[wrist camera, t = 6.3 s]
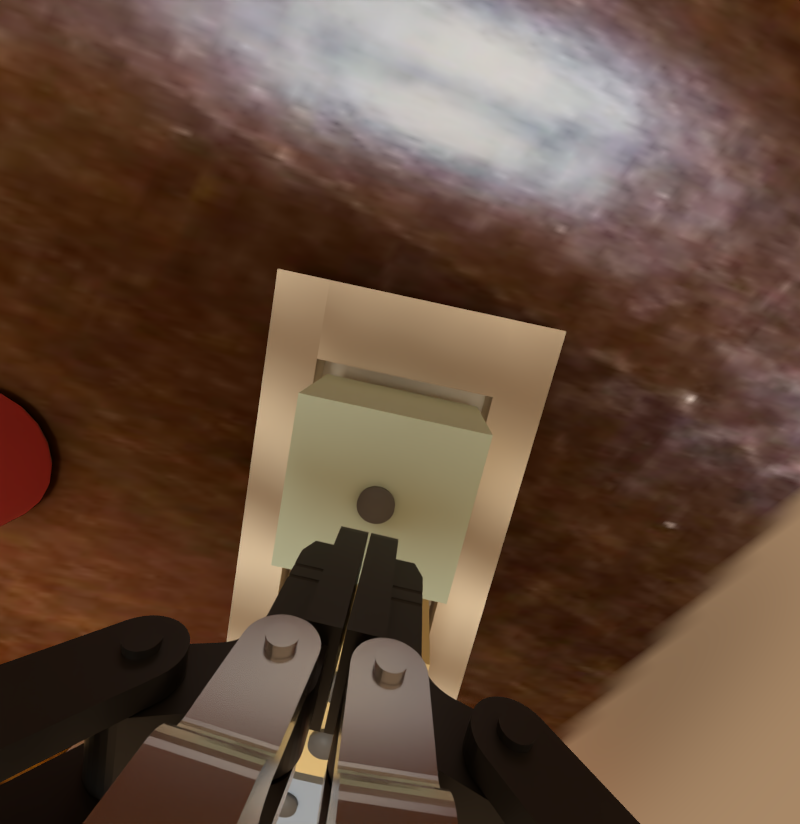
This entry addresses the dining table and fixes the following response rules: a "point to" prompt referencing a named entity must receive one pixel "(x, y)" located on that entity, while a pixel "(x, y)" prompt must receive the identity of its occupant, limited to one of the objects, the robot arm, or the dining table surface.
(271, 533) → the board
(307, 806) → the tile three
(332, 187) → the dining table surface
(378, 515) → the tile one
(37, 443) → the beer can
